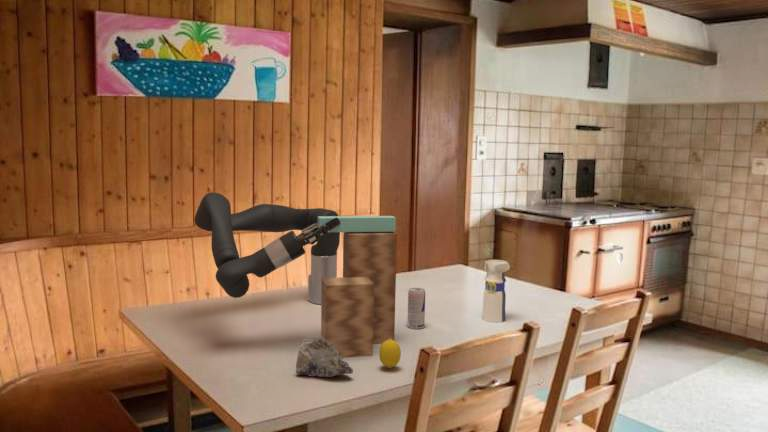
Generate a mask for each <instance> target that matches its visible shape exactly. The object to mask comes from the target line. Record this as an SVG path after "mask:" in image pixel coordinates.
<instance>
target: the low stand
mask: <svg viewBox="0 0 768 432" xmlns="http://www.w3.org/2000/svg"><path fill="white" fill-rule="evenodd" d="M320 305H321V311H320V312H321V313H320V315H321V318H320V322H321V323H320V325H321V327H320V337H322V338H323V339H324V340H326V341H327V342H329V343H330V344H332V345H334V346H335V347H336V349H337V351H338V352H339V355H340V356H341V357H342V358H351V357H365V356H367V357H368V356H370V357H371V356H373V355H374V354H373V353H374V344H373V317H374V283H373V282H372V281H371V280H370V279H369V278H368V277H343V276H342V277H337V278H322V294H321V304H320Z"/></svg>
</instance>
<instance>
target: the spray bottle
mask: <svg viewBox="0 0 768 432" xmlns="http://www.w3.org/2000/svg"><path fill="white" fill-rule="evenodd" d="M483 250H484V256H486V255H487V256H490V252H491V251H492V249H490V248H489V245H487V246H486V248H485V247H484V248H483ZM510 269H511V266H510V263H509V262H508V261H506V260H502V259H488V260H485V262H484V267H483V270H484V273H486V275H485V277H484V281H485V285H484V286H485V288H484V291H483V302H482V304H483V305H482V314H481V319H482V321H485V322H489V323H504V322H505V321H506V301H507V300H506V299H507V298H506V296H507V295H506V291H505V287H506V281H507V279H506V277H505V274H506V272H507V271H509V270H510Z"/></svg>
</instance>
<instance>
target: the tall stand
mask: <svg viewBox="0 0 768 432" xmlns="http://www.w3.org/2000/svg"><path fill="white" fill-rule="evenodd" d="M342 235H343V237H342V239H343V241H342V245H343V246H342V250H343V252H342V253H343V254H342V277H368V278H369V279H370V280H371V281H372V282H373V283H374V317H373V345H377V344H379V345H380V344H382V343H383V342H385V341H386V340H389V339H392V340H394V341H395V331H396V330H395V329H396V326H395V325H396V323H395V322H396V320H395V319H396V289H397V288H396V287H397V285H396V283H397V249H398V248H397V241H398V239H397V238H398V234H397V232H342Z"/></svg>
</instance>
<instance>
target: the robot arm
mask: <svg viewBox="0 0 768 432" xmlns="http://www.w3.org/2000/svg"><path fill="white" fill-rule="evenodd" d="M318 216H340V215H339V214H338V213H337V212H336V211H335V210H333V209H327V208H322V207H321V208H318V207H317V208H293V207H291V206H286V205H279V204H271V203H260V204H257V205H254V206H251V207H249V208H247V209H245V210H242V211H240V212H236V213H232V206H231V203H230V201H229V200H228V198H227V197H226V196H225V195H223V194H221V193H218V192H208V193H206V194H204V195H203V197H202V198H201V200H200V203H199V205H198V207H197V210H196V212H195V216H194V218H193V219H194V220H193V221H194V224H195V226H197V227H198V228H200V229H201V230H204V231H207V232H211V243H210V245H211V253H212V257H213V261H214V264H215V266H216V268H217V270H216V273H215V279H216V282H217V283H218V284H219V285H220V286H221V288H222V289H223V291H224V292H225V293H226V294H227V295H228V296H229V297H231V298H235V299H238V298H242V297H243V296H245V295H246V294H247V293H248V290H249V287H250V280H249V277H248V275H249V274H250V275H251V274H253V275H254V276H256V277H258V278H263V277H266V276H267V275H269V274H271V273H272V272H274V271H276V270H277V269H280V268H282V267H284V266H287V265H288V264H290V263H291V262H293V261H294V260H296V259H298V258H300V257H302V256H303V255H305V254H306V250H305V248H304V246H306V245H311V247H310V274H308V276H307V277H308V278H307V279H308V280H307V281H308V282H307V283H308V285H307V286H308V289H307V290H308V292H307V294H308V295H307V297H308V298H307V301H308V302H310V303H312V304H316V305H321V294H322V278H338V277H337V275H338V272H337V271H338V270H337V269H338V267H337V266H338V248H339V247H340V241H341V239H340V238H341V232H329V230H331V229H333V228H335V227H336V226H338V225H340V221H339V219H338V218H337V217H336V218H334V219H332V220H331V221H329V222H327V223H326V224H323V225H321V226H320V227H318ZM294 230H295V231H301V232H300V233H298V234H297V235H296V233H295V231H294ZM321 230H322V232H320V231H321ZM236 231H240V232H241V231H244V232H245V231H246V232H247V231H248V232H249V231H250V232H263V233H282V232H283V233H284V232H287V233H284V234H283V235H281V236H280V237H278V238H276V239H274V240H272V241H271V242H269V243H268V244H267V245H266V246H264V247H262V248H261V249H259V250H257V251H256V252H254V253H251V254H250V255H246V256H242V257H240V254H239V252H238V251H239V250H238V248H237V245H236V241H235V236H234V232H236Z"/></svg>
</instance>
